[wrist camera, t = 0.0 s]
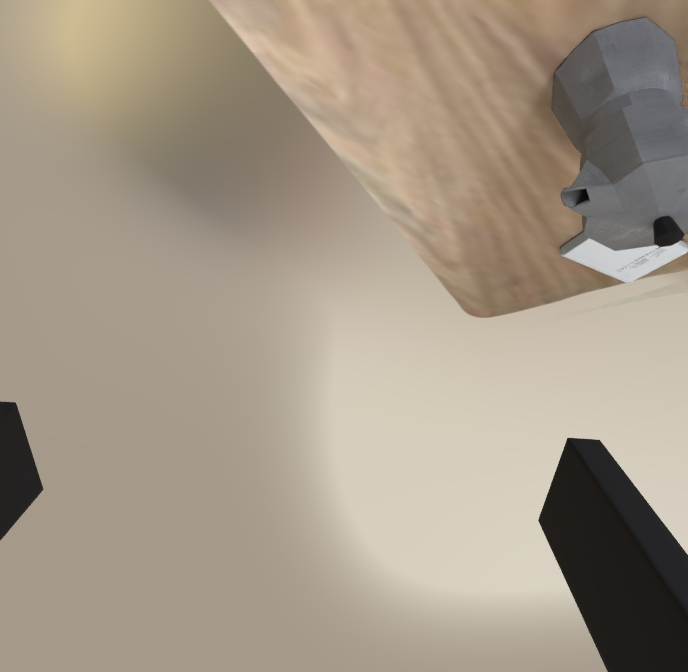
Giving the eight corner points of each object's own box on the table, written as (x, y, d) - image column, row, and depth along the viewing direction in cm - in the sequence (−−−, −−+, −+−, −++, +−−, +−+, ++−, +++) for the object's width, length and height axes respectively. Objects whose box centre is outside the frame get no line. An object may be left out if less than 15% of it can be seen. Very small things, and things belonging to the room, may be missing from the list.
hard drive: (618, 206, 50) (686, 241, 55) (559, 247, 57) (624, 275, 61) (622, 216, 50) (690, 252, 54) (561, 257, 56) (627, 285, 61)
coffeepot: (509, 117, 41) (538, 274, 33) (560, 3, 33) (617, 175, 25) (667, 134, 42) (736, 293, 34) (757, 27, 34) (878, 202, 25)
